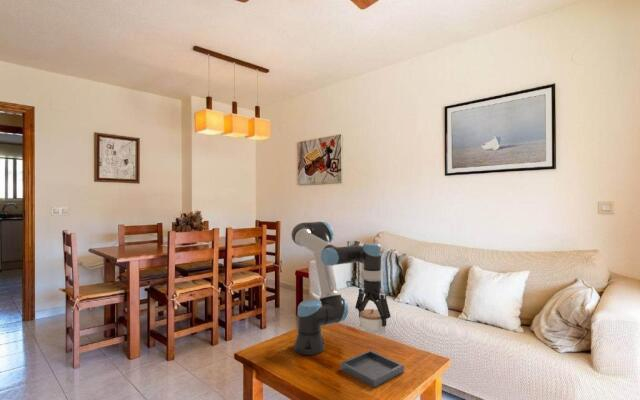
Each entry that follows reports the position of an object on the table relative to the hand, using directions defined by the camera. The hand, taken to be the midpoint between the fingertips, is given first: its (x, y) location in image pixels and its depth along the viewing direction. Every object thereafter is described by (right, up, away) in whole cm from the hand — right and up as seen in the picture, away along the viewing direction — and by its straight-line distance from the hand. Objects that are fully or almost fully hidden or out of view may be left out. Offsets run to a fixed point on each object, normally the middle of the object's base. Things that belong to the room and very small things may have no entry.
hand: (372, 329), depth 152 cm
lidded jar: (0, -1, 0) cm, 1 cm away
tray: (0, -18, 0) cm, 18 cm away
